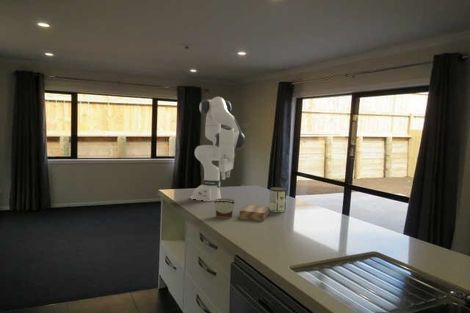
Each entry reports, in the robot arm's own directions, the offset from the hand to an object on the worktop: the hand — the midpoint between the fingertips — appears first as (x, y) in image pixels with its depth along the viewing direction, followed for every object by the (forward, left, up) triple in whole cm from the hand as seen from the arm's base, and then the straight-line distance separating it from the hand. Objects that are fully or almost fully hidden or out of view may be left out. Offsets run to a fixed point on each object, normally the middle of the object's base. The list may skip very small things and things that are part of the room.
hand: (225, 178), depth 200 cm
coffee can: (+28, +26, -22) cm, 44 cm away
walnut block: (+17, +5, -23) cm, 29 cm away
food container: (0, 0, -22) cm, 22 cm away
